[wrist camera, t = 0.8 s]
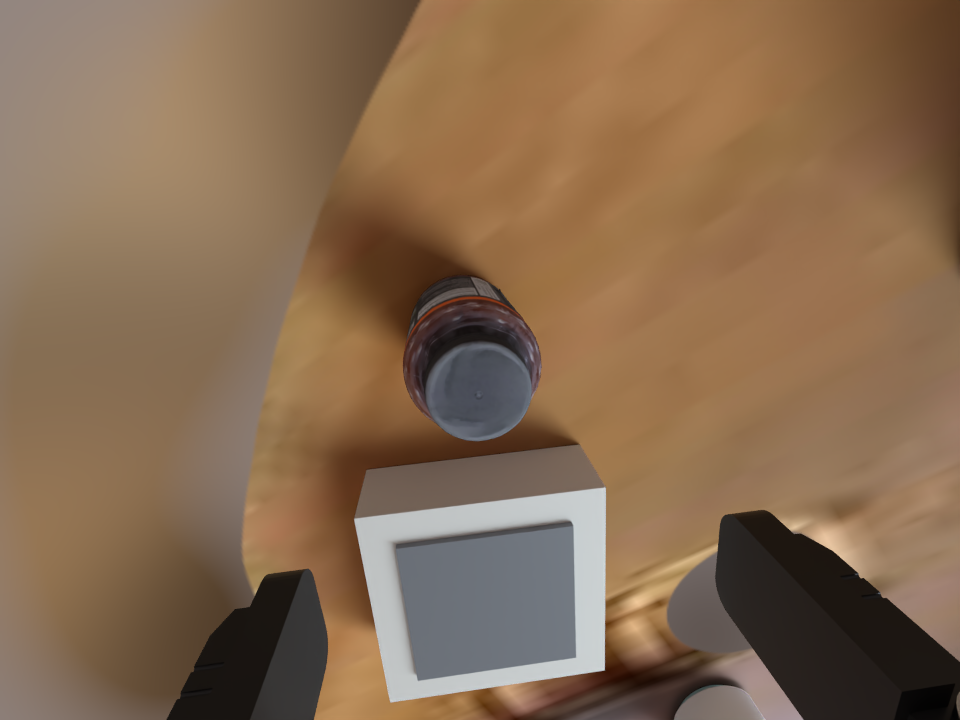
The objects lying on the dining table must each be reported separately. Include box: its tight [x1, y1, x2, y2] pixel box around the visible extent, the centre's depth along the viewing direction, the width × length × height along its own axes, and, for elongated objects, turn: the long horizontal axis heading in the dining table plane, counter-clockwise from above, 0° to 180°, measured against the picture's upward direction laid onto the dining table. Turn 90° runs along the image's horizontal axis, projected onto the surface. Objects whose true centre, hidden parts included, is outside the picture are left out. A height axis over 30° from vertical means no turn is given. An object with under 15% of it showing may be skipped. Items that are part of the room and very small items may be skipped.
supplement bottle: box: [403, 275, 542, 441], centre depth 23 cm, size 6×6×11 cm
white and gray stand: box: [354, 444, 606, 702], centre depth 31 cm, size 14×14×5 cm
